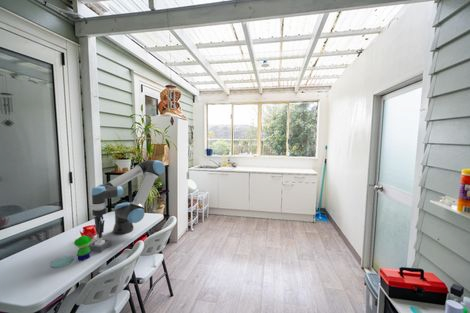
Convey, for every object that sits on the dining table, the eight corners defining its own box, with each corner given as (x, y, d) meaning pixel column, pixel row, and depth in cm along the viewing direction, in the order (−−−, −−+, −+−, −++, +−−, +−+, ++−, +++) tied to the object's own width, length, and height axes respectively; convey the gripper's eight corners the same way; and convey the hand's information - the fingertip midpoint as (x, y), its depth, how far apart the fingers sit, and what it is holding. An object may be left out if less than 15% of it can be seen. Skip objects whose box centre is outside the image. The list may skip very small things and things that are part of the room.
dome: (99, 243, 139) (99, 239, 139) (107, 244, 139) (107, 240, 139) (92, 248, 134) (92, 243, 133) (100, 248, 133) (100, 244, 133)
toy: (91, 253, 129) (90, 231, 129) (93, 258, 123) (92, 236, 122) (73, 258, 123) (73, 235, 122) (75, 264, 117) (74, 240, 116)
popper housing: (99, 243, 142) (99, 238, 142) (111, 244, 141) (111, 239, 140) (87, 251, 132) (87, 245, 132) (100, 252, 131) (100, 246, 130)
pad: (72, 254, 127) (72, 254, 127) (76, 261, 121) (76, 260, 121) (49, 262, 119) (49, 262, 119) (52, 270, 112) (52, 269, 112)
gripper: (89, 208, 136) (90, 240, 137) (95, 212, 128) (96, 247, 129) (101, 205, 141) (102, 237, 143) (108, 209, 133) (109, 242, 135)
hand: (99, 241), depth 136 cm, fingers closed
